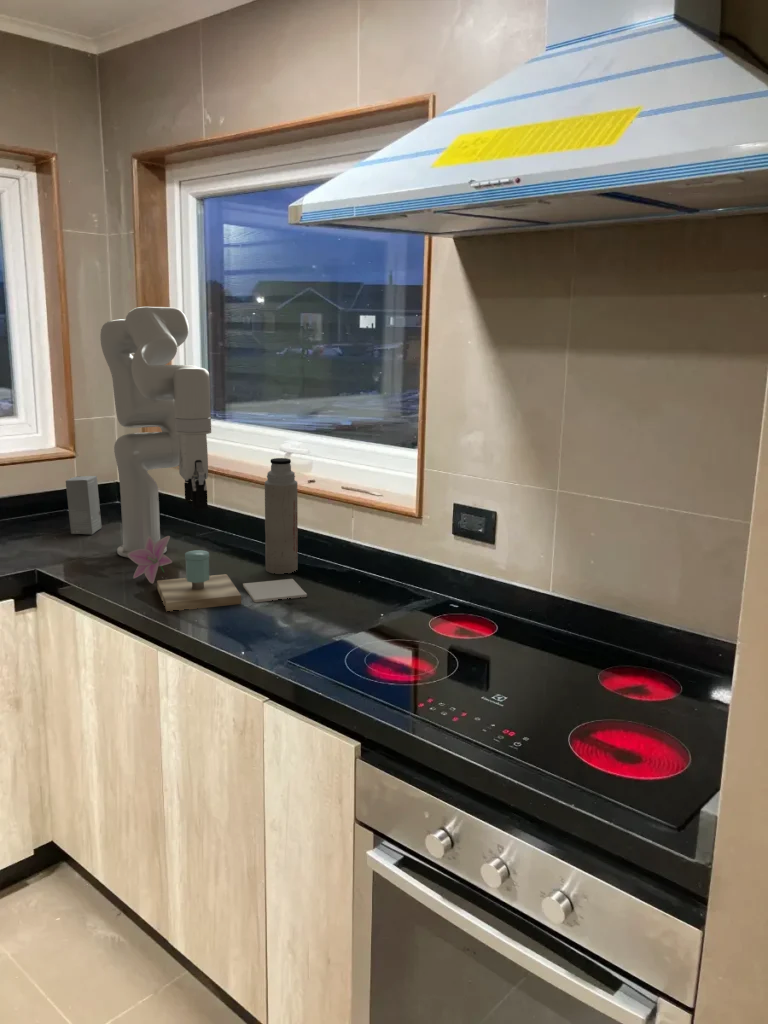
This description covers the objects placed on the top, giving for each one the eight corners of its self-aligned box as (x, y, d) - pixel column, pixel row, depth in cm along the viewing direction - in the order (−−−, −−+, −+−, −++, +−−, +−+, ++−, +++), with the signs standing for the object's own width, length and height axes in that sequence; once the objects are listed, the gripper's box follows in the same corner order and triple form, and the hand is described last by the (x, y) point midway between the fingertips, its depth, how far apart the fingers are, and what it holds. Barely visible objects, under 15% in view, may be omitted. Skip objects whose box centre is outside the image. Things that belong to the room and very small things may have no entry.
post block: (157, 588, 189) (155, 551, 187) (226, 582, 195) (225, 545, 193) (166, 611, 175) (165, 571, 173) (241, 603, 181) (240, 564, 179)
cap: (184, 576, 186) (183, 551, 184) (207, 574, 187) (206, 549, 186) (187, 583, 181) (186, 557, 180) (211, 581, 183) (210, 555, 181)
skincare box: (92, 535, 234) (89, 480, 230) (67, 534, 234) (63, 479, 230) (103, 527, 242) (99, 474, 238) (78, 527, 242) (75, 474, 238)
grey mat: (242, 586, 193) (242, 583, 193) (292, 581, 197) (292, 578, 197) (254, 602, 182) (254, 599, 182) (306, 596, 186) (306, 594, 186)
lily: (127, 575, 203) (114, 547, 196) (170, 551, 207) (158, 523, 201) (148, 601, 195) (135, 573, 189) (191, 576, 200) (180, 548, 193)
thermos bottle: (301, 566, 209) (301, 457, 203) (292, 575, 202) (291, 462, 195) (271, 563, 211) (270, 455, 204) (261, 572, 203) (259, 460, 197)
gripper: (169, 422, 183) (172, 497, 186) (181, 431, 167) (184, 513, 171) (203, 421, 185) (206, 495, 189) (218, 430, 170) (220, 511, 173)
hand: (196, 504), depth 180 cm, fingers open, 9 cm apart
